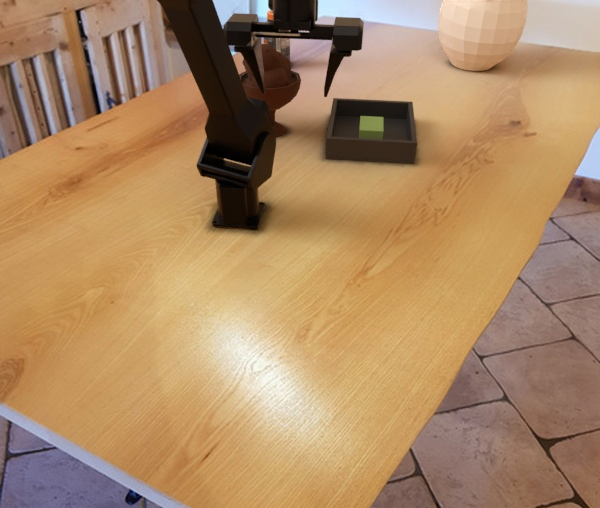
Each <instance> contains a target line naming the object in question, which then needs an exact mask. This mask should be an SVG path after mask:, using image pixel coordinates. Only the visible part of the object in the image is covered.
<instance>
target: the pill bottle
mask: <svg viewBox="0 0 600 508" xmlns="http://www.w3.org/2000/svg"><path fill="white" fill-rule="evenodd" d="M266 22H270V23H273V10H270V9H269V10H268V11H267V12H266ZM280 31H287V32H288V30H280ZM289 32H290V30H289ZM263 44H269V45H271V46H272V47H273V48H274V49H275V50H276V51H278V52H281V53H282V54H283V55H284V56H286V57H287V58H288V59H289V60H290V61H291V39H287V38H263Z"/></svg>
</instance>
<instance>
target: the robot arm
mask: <svg viewBox="0 0 600 508" xmlns="http://www.w3.org/2000/svg"><path fill="white" fill-rule="evenodd" d="M156 1H157V2H158V3H159V5H160V6H161V7H162V10H163V12H164V15H165V16H166V18H167V20H168V23H169V25H170V27H171V30H172V32H173V34H174V36H175V38H176V41H177V43H178V45H179V47H180V50H181V52H182V55H183V56H184V59H185V61H186V64H187V66H188V68H189V70H190V72H191V74H192V77H193V80H194V81H195V83H196V86H197V88H198V90H199V93H200V95H201V97H202V99H203V101H204V104H205V106H206V108H207V111H208V115H207V119H206V121H205V125H204V132H205V135H206V137H205V140H204V143H203V146H202V149H201V151H200V154H199V157H198V159H197V163H196V168H197V171H198V173H199V175H200V177H202V178H208V179H212V180H214V182H215V183H214V184H215V192H216V200H217V209H216V211H215V213H214V216H213V218H212V220H211V226H212V227H214V228H232V229H243V230H244V229H245V230H258V229H259V228H260V225H261V221H262V219H263V215H264V211H265V209H266V203H265V202H263V201H260V198H259V194H260V193H259V188H260V187H261V186H263V184H264V183H266V182H267V181H268V180H269V179H271V178H272V176H273V170H274V161H275V157H276V156H275V155H276V150H277V137H275V134H274V130H273V126H274V125H275V123H274V122H273V121H272V119H271V116H270V111H269V107H268V105H267V103H266V102H265V101H264V100H259V99H254V98H250V97H247V96H246V93H245V90H244V87H243V84H242V82H241V79H240V76H239V74H240V73H239V70H238V68H237V64H236V62H235V59H234V56H233V54H232V50H231V48H230V47H231V46H233V51H234V53H240V54H241V56H242V58H243V59H245V61H246V62H247V64H248V66H249V67H250V69H251V71H252V73H253V76H254V78H255V80H256V82H257V85H258V87H259V89H260V91H261V94H265V75H264V68H263V60H262V51H261V44H262V38H263V39H264V38H287V39H290V40H292V39H293V40H313V41H315V40H317V41H331V46H330V50H329V56H328V61H327V62H328V63H327V69H326V74H325V80H324V86H323V97H324V98H327V97H328V95H329V92H330V89H331V86H332V84H333V81H334V78H335V75H336V74H337V71H338V69H339V67H340V65H341V63H342V62H343V59H344V58H345V57H346V58H349V57H352V55H353V52H354V51H356V52H358V51H362V49H363V41H364V39H363V38H364V26H365V22H364V21H363V19H362V18H361V17H347V16H345V17H343V16H335V19H334V23H333V24H324V23H323V24H321V23H316V22H317V21H318V19H319V0H267V6H268V9H269V11H270V10H273V23H270V22H267V21H260V20H259V16H258V14H257V13H235V12H233V13H232V14H231V16H230V17H229V18H228V19H227V20H226V22H225V23H224V25H223V26H222V22H221V20H220V16H219V14H218V12H217V9H216V6H215V2H214V0H156ZM280 30H288V32H287V31H280ZM289 30H290V32H289Z"/></svg>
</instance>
